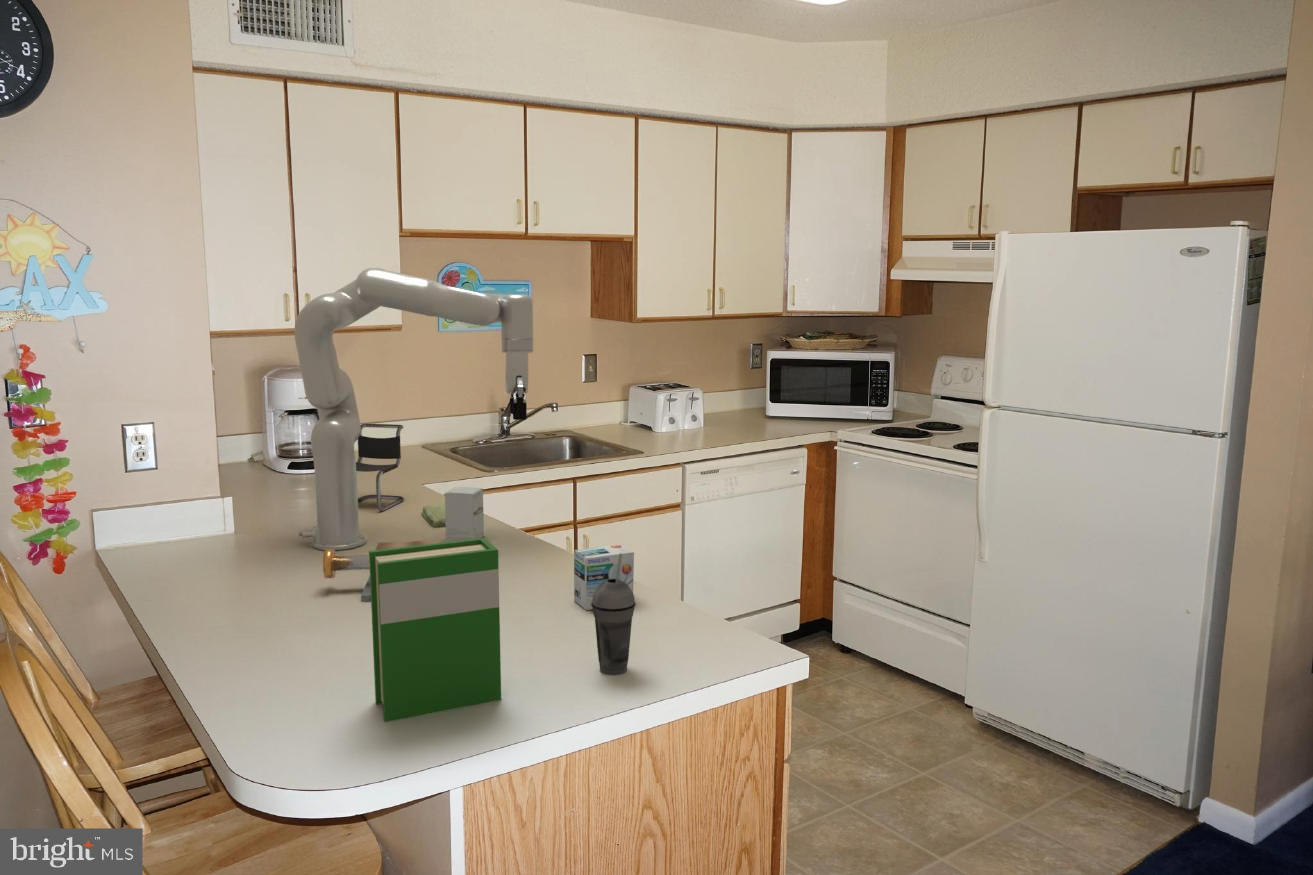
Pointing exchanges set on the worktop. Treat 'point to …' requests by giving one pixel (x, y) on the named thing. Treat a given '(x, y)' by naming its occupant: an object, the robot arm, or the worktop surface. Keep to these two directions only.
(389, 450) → the chair
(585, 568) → the light bulb box
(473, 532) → the supplement box
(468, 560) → the hardback book
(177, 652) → the worktop surface
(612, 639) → the beverage cup
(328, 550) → the shaft
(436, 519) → the washcloth
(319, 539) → the robot arm
